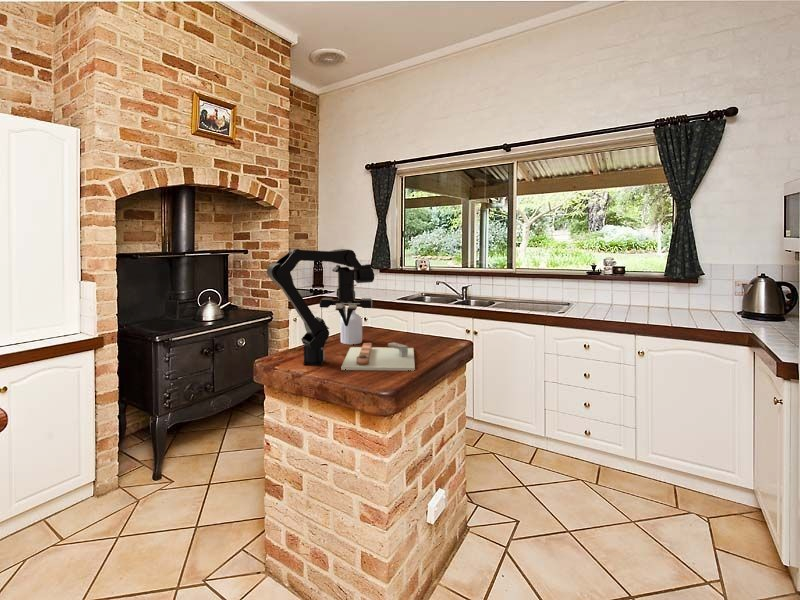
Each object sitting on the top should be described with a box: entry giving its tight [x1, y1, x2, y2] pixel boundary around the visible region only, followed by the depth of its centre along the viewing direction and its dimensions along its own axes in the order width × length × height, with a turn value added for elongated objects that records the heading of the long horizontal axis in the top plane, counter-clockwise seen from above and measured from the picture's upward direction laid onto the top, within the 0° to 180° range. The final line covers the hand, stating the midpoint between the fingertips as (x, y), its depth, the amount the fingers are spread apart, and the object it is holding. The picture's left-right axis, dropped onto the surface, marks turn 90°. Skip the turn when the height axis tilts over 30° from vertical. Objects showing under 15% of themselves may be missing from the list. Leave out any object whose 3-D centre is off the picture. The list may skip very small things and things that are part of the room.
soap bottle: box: [339, 284, 363, 346], centre depth 189 cm, size 9×9×25 cm
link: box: [357, 342, 373, 365], centre depth 165 cm, size 22×4×2 cm, turn 179°
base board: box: [340, 346, 416, 372], centre depth 166 cm, size 25×26×1 cm
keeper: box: [387, 341, 409, 357], centre depth 168 cm, size 3×8×5 cm, turn 44°
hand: (346, 326), depth 166 cm, fingers closed
